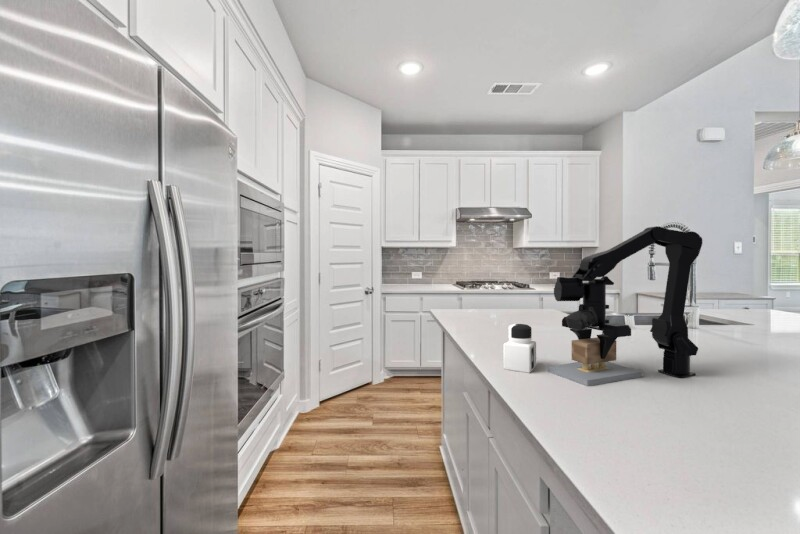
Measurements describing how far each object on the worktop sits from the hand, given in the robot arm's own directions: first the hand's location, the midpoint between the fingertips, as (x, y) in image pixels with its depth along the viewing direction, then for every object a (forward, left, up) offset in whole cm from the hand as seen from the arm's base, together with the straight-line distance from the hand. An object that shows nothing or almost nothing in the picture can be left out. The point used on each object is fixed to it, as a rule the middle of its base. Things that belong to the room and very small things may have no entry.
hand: (594, 356), depth 109 cm
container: (+15, -13, -5) cm, 21 cm away
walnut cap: (0, 0, -1) cm, 1 cm away
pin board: (0, 0, -5) cm, 5 cm away
